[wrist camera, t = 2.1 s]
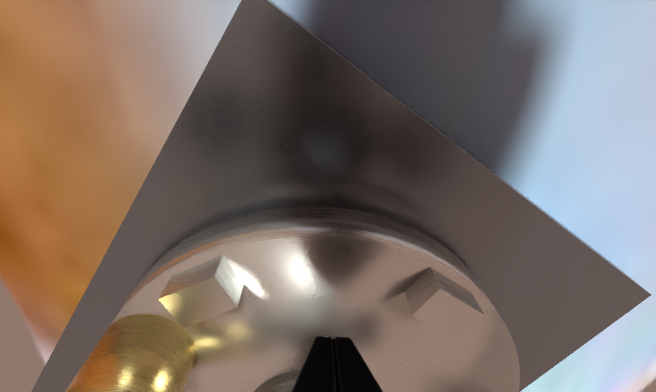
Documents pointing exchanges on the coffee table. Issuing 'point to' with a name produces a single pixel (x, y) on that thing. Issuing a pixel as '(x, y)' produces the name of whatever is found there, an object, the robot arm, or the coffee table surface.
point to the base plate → (343, 192)
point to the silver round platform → (303, 310)
